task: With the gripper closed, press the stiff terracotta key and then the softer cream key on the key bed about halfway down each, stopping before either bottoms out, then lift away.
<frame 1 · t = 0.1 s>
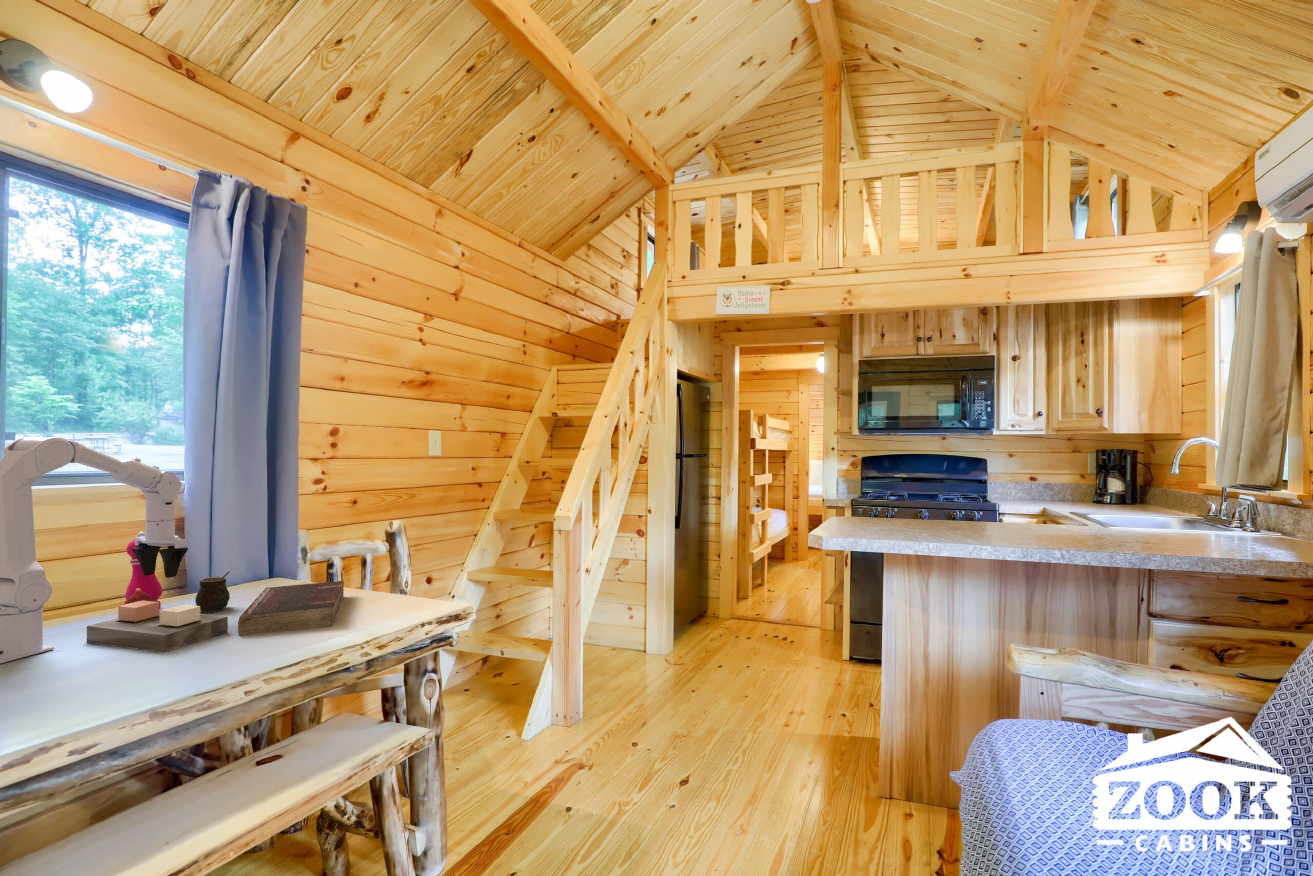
hand: (159, 575, 153), 10 cm above the table, tool pointing down, fingers open, 7 cm apart
hardback book: (296, 617, 156), on the table
pepper mill: (144, 611, 157), on the table
cream key: (180, 615, 136), point 5 cm above the table, slide at 0.0 cm
mate gourd: (213, 610, 159), on the table
terracotta key: (138, 610, 139), point 5 cm above the table, slide at 0.0 cm
key bed: (159, 637, 138), on the table
onion: (138, 622, 149), on the table
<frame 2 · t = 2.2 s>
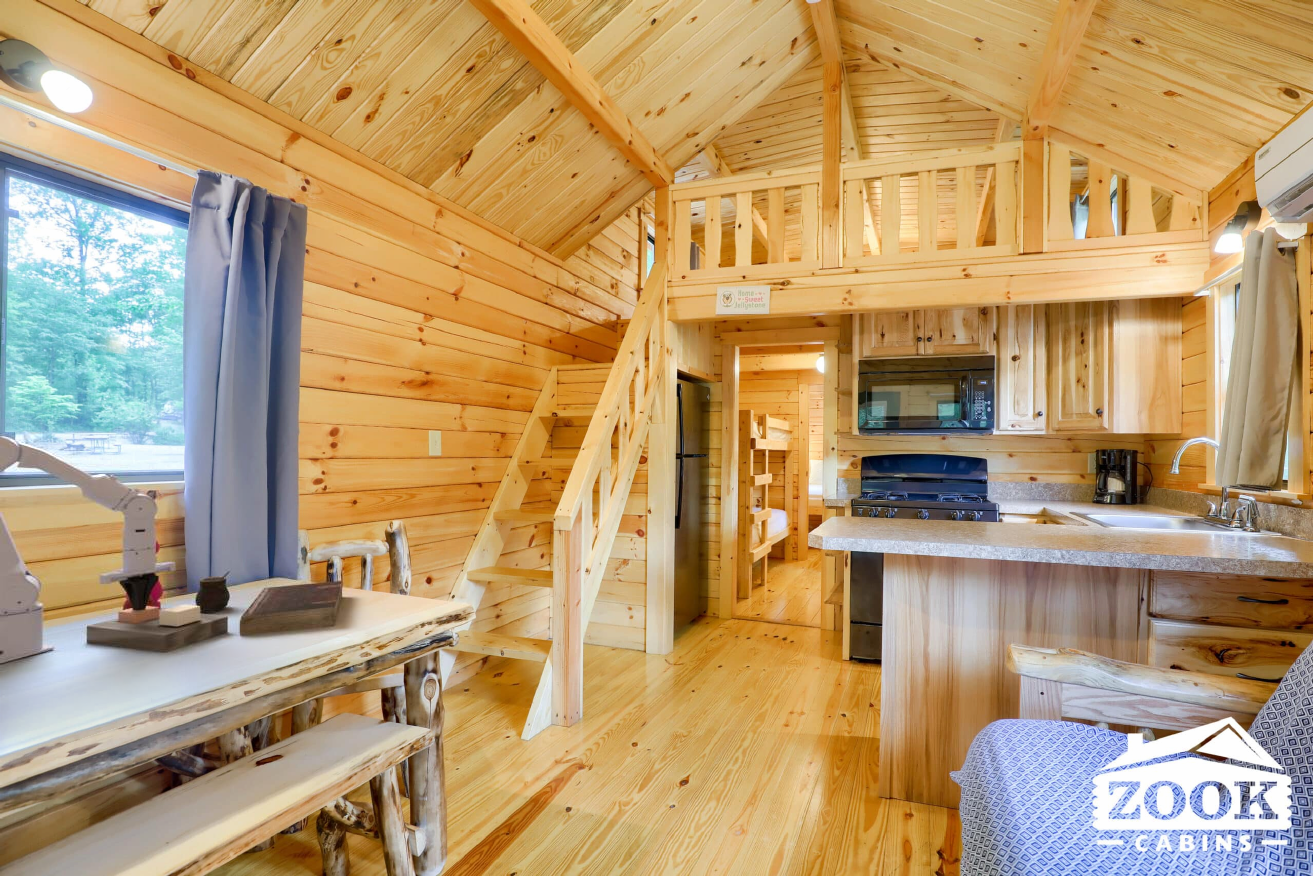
hand: (139, 609, 139), 6 cm above the table, tool pointing down, fingers closed, pressing on terracotta key
terracotta key: (138, 616, 139), point 4 cm above the table, slide at 1.2 cm, touching gripper
everything else where it was.
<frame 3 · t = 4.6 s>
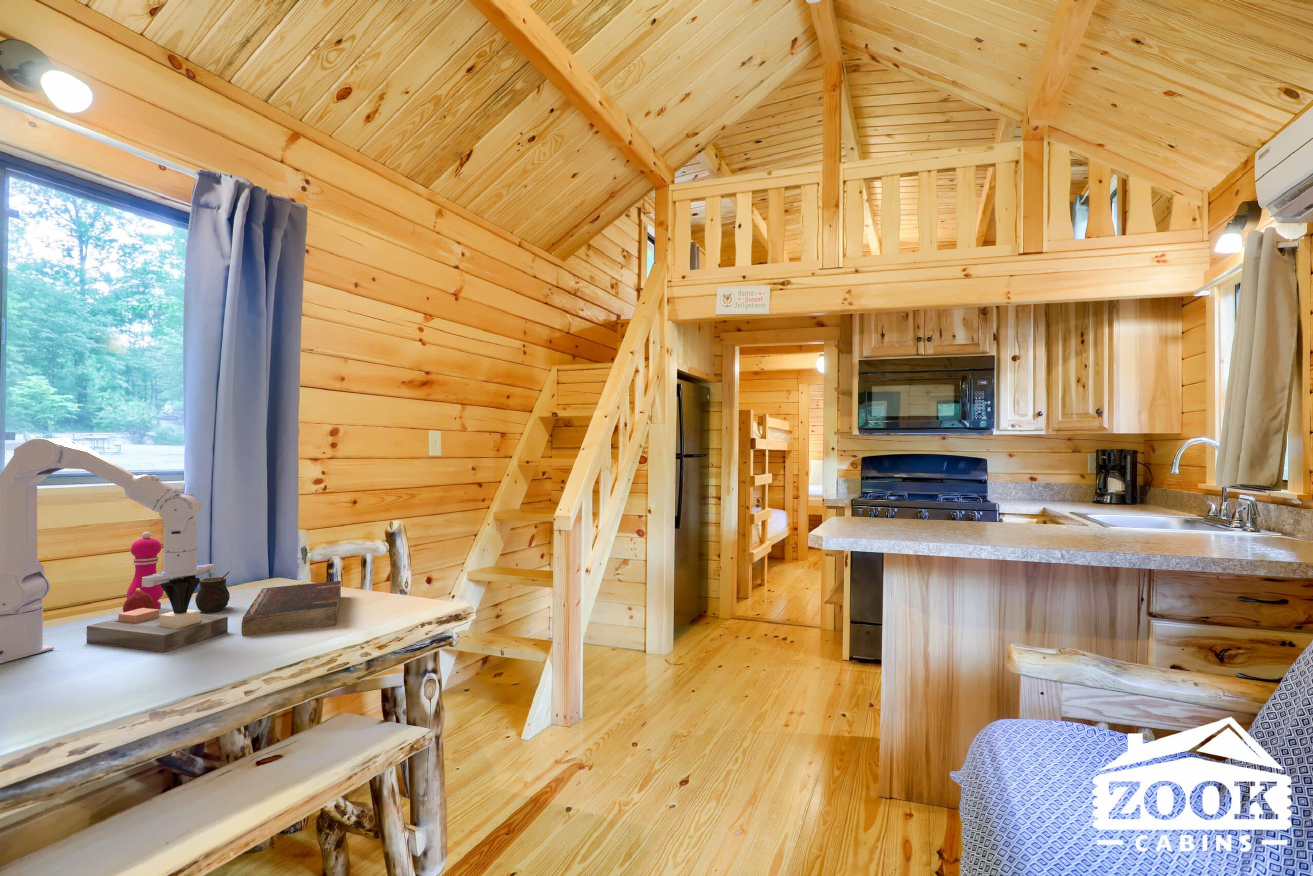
hand: (180, 612, 136), 6 cm above the table, tool pointing down, fingers closed, pressing on cream key
cream key: (180, 619, 136), point 4 cm above the table, slide at 1.0 cm, touching gripper
terracotta key: (138, 618, 139), point 4 cm above the table, slide at 1.7 cm
everything else where it was.
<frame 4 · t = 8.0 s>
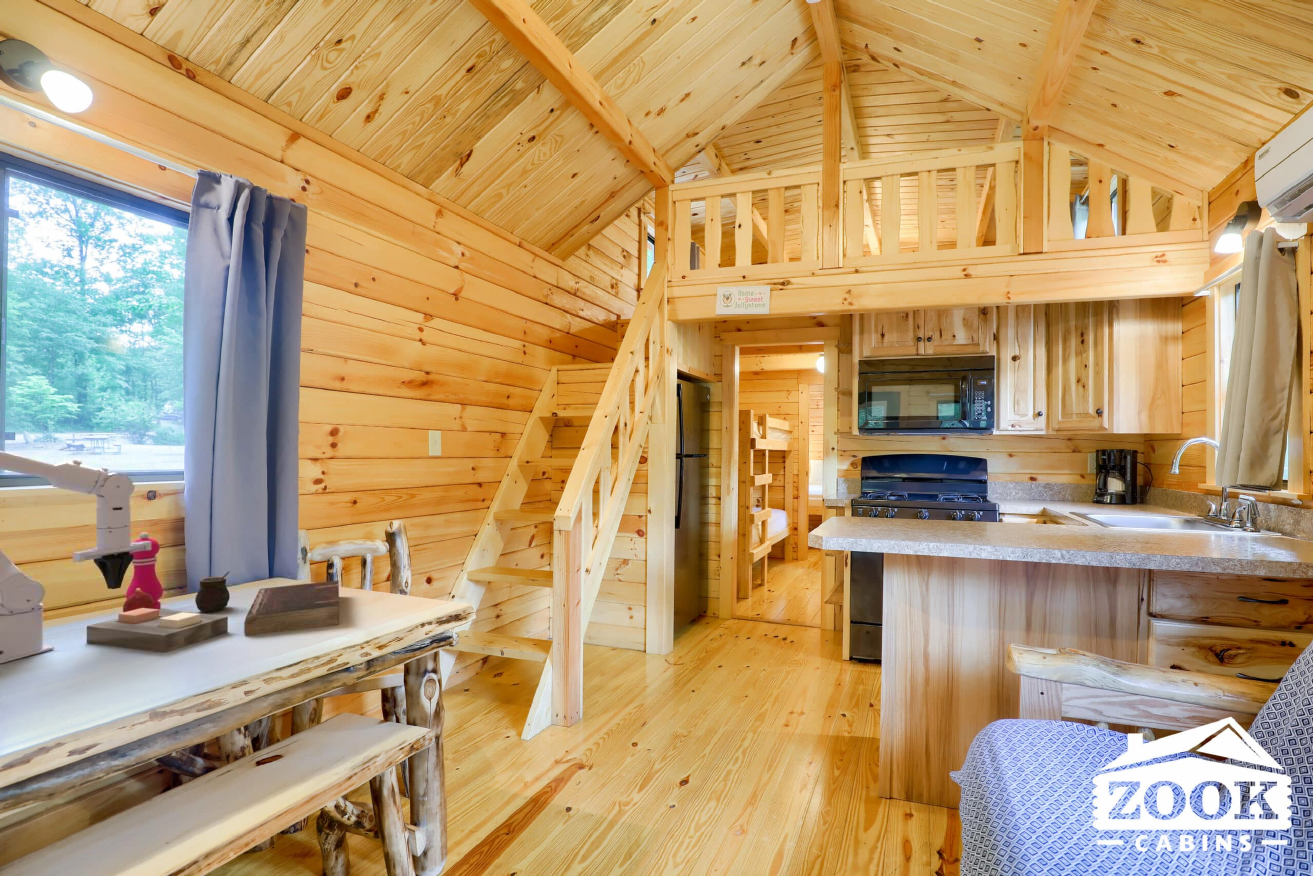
hand: (114, 588, 139), 10 cm above the table, tool pointing down, fingers closed
cream key: (180, 623, 136), point 4 cm above the table, slide at 1.7 cm
everything else where it was.
at the end: terracotta key slide at 1.7 cm; cream key slide at 1.7 cm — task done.
